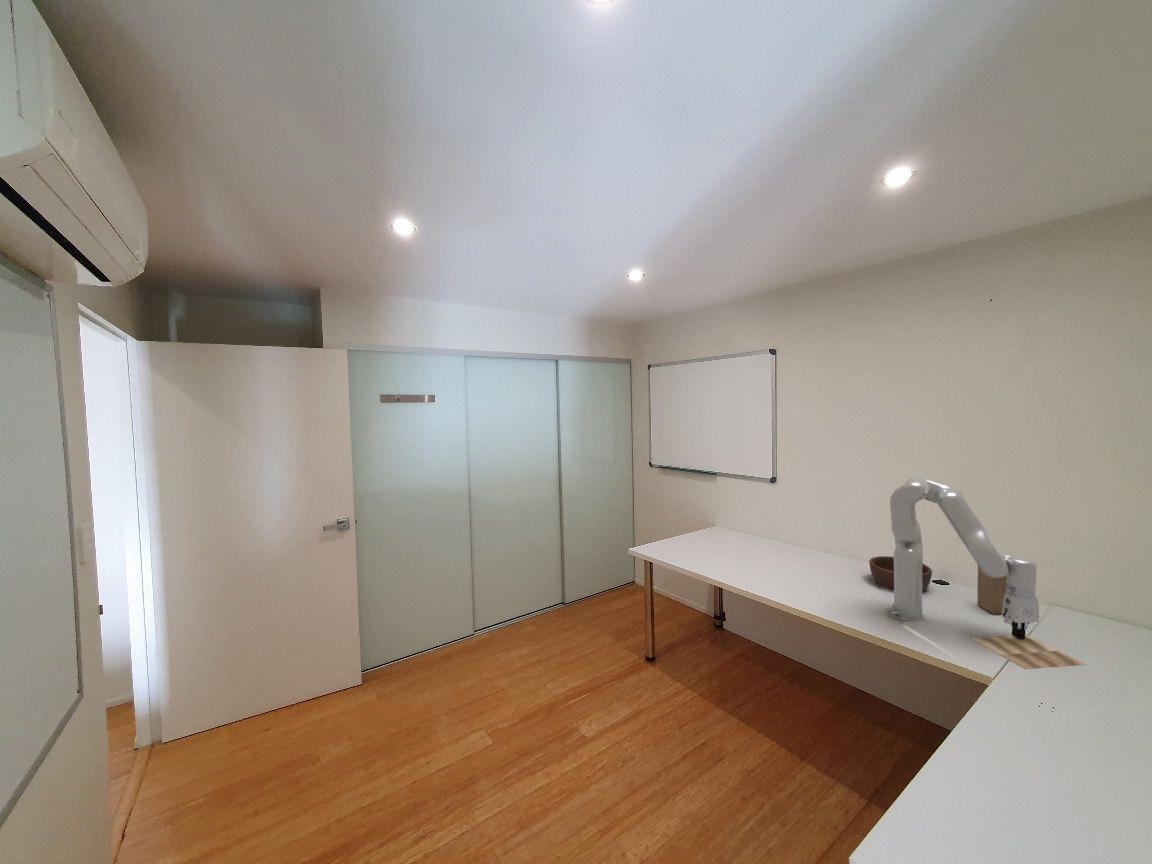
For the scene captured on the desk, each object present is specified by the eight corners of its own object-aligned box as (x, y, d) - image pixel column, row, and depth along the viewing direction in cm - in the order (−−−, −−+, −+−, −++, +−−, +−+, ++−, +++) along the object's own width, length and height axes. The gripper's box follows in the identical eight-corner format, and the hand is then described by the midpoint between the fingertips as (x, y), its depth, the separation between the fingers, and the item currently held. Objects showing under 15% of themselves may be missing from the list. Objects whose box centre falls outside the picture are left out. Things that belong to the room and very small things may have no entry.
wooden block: (1021, 617, 175) (1022, 571, 173) (993, 615, 177) (994, 570, 175) (1002, 606, 184) (1003, 562, 183) (976, 604, 186) (976, 561, 185)
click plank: (999, 658, 148) (999, 654, 148) (971, 642, 158) (971, 638, 158) (1056, 654, 149) (1057, 650, 149) (1025, 638, 159) (1025, 635, 159)
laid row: (1025, 673, 140) (1025, 668, 140) (999, 658, 148) (1000, 654, 148) (1086, 668, 141) (1086, 664, 141) (1058, 654, 149) (1058, 650, 149)
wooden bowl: (913, 575, 219) (913, 556, 218) (944, 597, 195) (944, 576, 194) (860, 573, 225) (860, 555, 224) (883, 594, 200) (883, 573, 200)
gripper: (1012, 596, 152) (1010, 644, 153) (1051, 594, 152) (1048, 642, 154) (991, 587, 159) (989, 633, 160) (1027, 585, 160) (1025, 631, 161)
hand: (1018, 637), depth 157 cm, fingers closed
